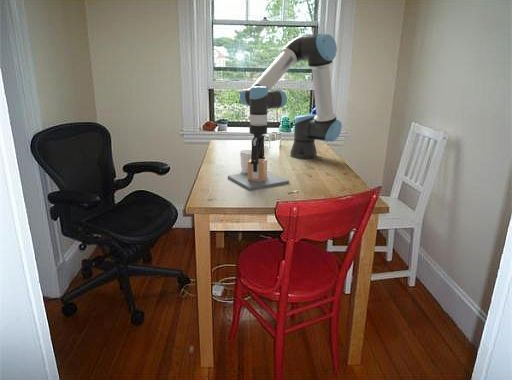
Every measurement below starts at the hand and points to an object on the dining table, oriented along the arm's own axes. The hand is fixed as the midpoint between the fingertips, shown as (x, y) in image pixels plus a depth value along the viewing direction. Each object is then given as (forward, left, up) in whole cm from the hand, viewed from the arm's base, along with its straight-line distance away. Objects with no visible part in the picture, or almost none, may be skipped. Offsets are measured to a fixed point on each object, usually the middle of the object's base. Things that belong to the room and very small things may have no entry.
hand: (257, 175), depth 161 cm
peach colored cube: (0, 0, -1) cm, 1 cm away
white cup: (-4, -15, -3) cm, 15 cm away
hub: (0, 0, -2) cm, 2 cm away
